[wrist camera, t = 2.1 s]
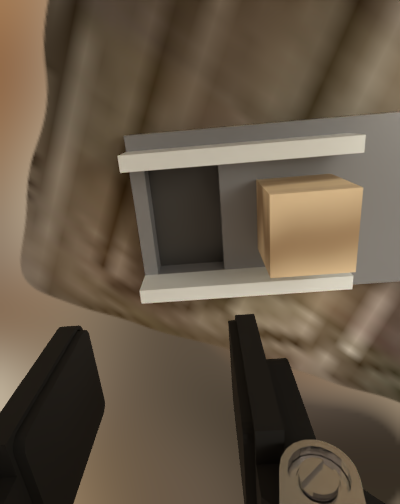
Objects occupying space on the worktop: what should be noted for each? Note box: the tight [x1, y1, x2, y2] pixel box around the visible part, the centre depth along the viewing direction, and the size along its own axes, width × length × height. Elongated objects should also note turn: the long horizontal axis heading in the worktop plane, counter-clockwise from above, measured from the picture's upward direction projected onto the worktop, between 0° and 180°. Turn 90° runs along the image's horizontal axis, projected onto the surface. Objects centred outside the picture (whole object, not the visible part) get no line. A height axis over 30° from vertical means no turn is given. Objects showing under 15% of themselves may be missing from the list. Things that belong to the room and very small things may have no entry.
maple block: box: [256, 174, 363, 278], centre depth 22 cm, size 5×5×5 cm
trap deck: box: [117, 111, 400, 304], centre depth 24 cm, size 12×25×4 cm, turn 95°
